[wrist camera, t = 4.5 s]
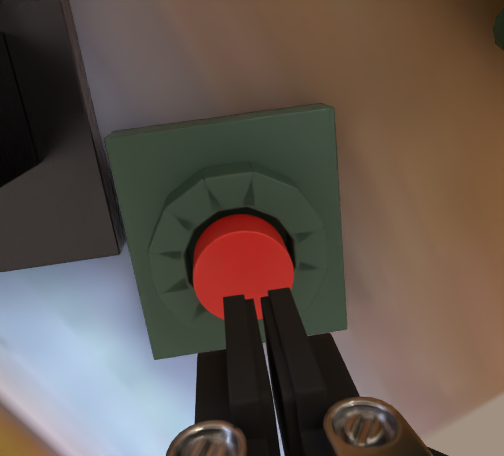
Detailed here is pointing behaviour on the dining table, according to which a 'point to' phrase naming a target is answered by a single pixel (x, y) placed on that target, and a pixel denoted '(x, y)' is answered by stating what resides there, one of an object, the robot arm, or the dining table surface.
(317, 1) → the dining table surface
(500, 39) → the green bumpy upright shape
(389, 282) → the dining table surface
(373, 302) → the dining table surface
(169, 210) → the console
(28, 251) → the lever bracket
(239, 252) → the button
